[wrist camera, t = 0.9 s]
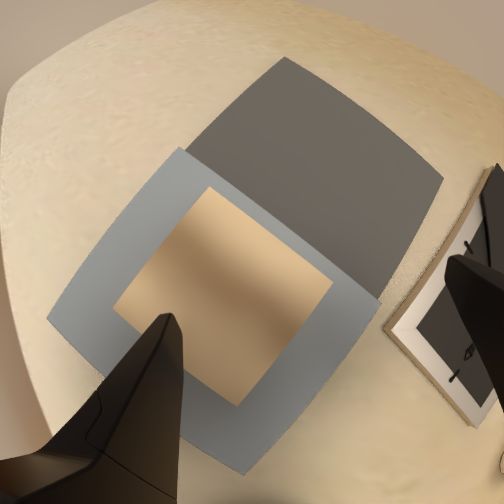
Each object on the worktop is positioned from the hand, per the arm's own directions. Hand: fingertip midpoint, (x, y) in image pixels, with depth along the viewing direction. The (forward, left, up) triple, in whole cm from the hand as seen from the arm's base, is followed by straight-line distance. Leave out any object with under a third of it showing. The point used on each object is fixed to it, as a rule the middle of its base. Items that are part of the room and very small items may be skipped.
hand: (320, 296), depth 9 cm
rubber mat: (+11, +2, -13) cm, 17 cm away
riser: (-3, +2, -13) cm, 13 cm away
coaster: (-2, +2, -9) cm, 9 cm away
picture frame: (+13, -18, -14) cm, 26 cm away
